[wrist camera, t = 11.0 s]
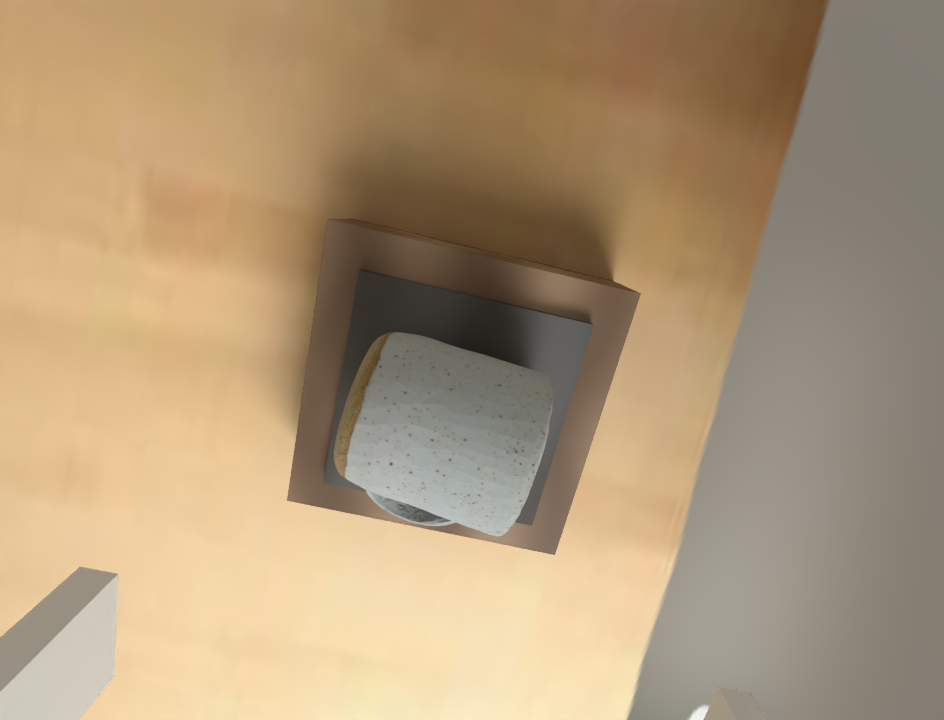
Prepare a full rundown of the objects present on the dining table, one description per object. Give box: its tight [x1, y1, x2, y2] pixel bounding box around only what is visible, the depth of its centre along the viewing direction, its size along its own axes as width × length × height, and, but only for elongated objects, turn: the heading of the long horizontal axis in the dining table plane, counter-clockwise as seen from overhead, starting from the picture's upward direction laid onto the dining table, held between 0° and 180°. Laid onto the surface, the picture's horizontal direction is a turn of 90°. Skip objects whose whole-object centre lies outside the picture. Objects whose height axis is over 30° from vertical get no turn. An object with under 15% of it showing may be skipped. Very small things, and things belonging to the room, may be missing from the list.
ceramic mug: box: [334, 332, 553, 537], centre depth 23 cm, size 11×8×8 cm
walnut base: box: [287, 219, 640, 555], centre depth 29 cm, size 16×16×6 cm
